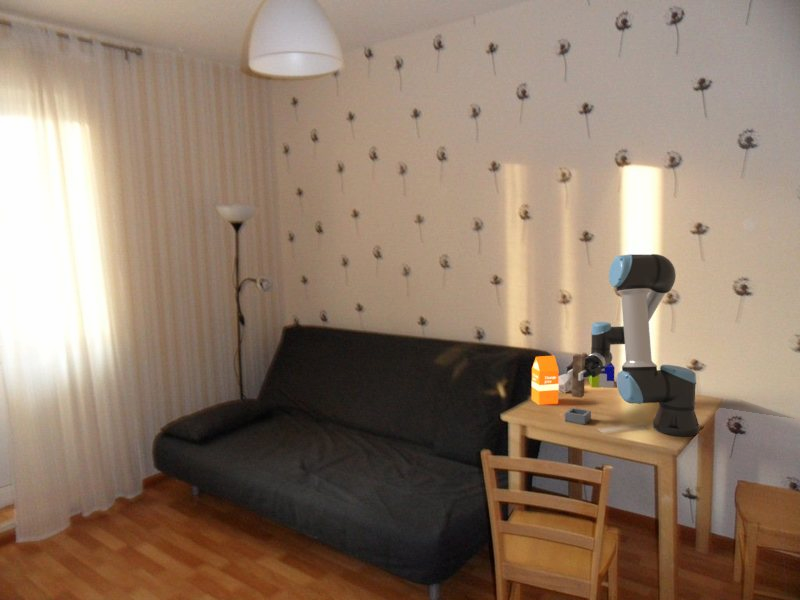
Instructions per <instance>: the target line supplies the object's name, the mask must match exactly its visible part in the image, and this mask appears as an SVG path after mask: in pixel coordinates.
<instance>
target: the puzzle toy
mask: <svg viewBox="0 0 800 600" xmlns="http://www.w3.org/2000/svg"><path fill="white" fill-rule="evenodd" d="M588 382H589V385H590V387H591V388H601V387H603V388H604V389H605V388H606V389H607V388H608V389H614V388H615V365H613V363H612V362H611V363H610V364H609V365H608V366H607V367H605V372H604V373H601V374H599V375H597V376H596V377H592V376H590V377H588ZM603 388H602V389H603Z"/></svg>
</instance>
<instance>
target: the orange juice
mask: <svg viewBox="0 0 800 600" xmlns="http://www.w3.org/2000/svg"><path fill="white" fill-rule="evenodd" d="M559 373H560V372H559V367H558V364H557V359H556V357H555V355H545V356H544V355H543V356H541V355H539V356H535V359H534V361H533V365H532V367H531V401H533V402H534V403H536V404H537V405H538V406H540V405H541V406H542V405H554V404H559V389H558V377H559V376H560V375H559Z"/></svg>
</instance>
